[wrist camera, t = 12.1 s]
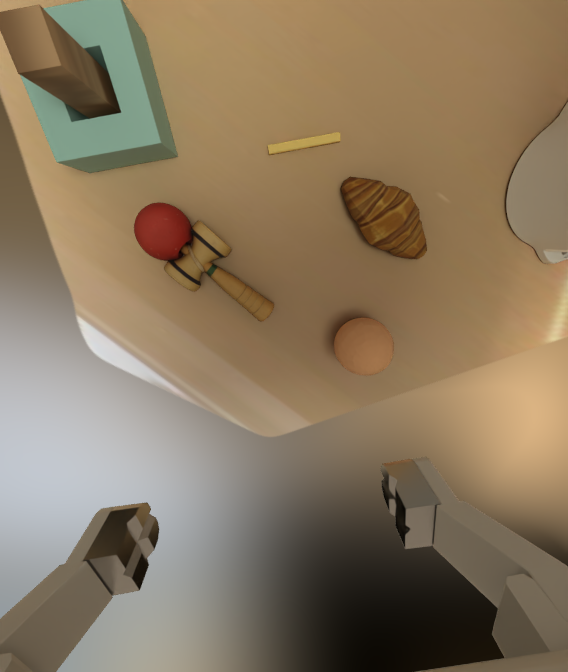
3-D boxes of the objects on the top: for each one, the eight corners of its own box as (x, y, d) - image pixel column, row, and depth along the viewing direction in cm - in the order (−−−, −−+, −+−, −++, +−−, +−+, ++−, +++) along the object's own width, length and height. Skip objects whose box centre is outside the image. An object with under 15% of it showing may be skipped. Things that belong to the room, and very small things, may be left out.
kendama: (286, 280, 37) (167, 179, 29) (289, 302, 32) (144, 184, 24) (251, 317, 40) (135, 233, 33) (248, 342, 35) (109, 249, 27)
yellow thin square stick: (338, 133, 30) (340, 132, 29) (339, 142, 30) (340, 140, 29) (267, 146, 30) (267, 145, 29) (269, 154, 30) (269, 153, 29)
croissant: (436, 231, 34) (463, 232, 30) (399, 274, 36) (418, 281, 31) (361, 155, 31) (377, 142, 26) (323, 207, 33) (332, 203, 28)
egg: (384, 313, 38) (415, 335, 30) (372, 359, 40) (397, 391, 32) (333, 307, 37) (351, 329, 29) (324, 355, 40) (338, 386, 32)
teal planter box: (145, 36, 26) (118, -7, 21) (177, 156, 30) (161, 142, 25) (45, 55, 26) (-4, 17, 21) (89, 172, 30) (56, 162, 25)
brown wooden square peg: (125, 89, 27) (38, 4, 17) (136, 125, 28) (61, 65, 18) (96, 94, 27) (-7, 13, 17) (108, 130, 28) (18, 73, 18)
